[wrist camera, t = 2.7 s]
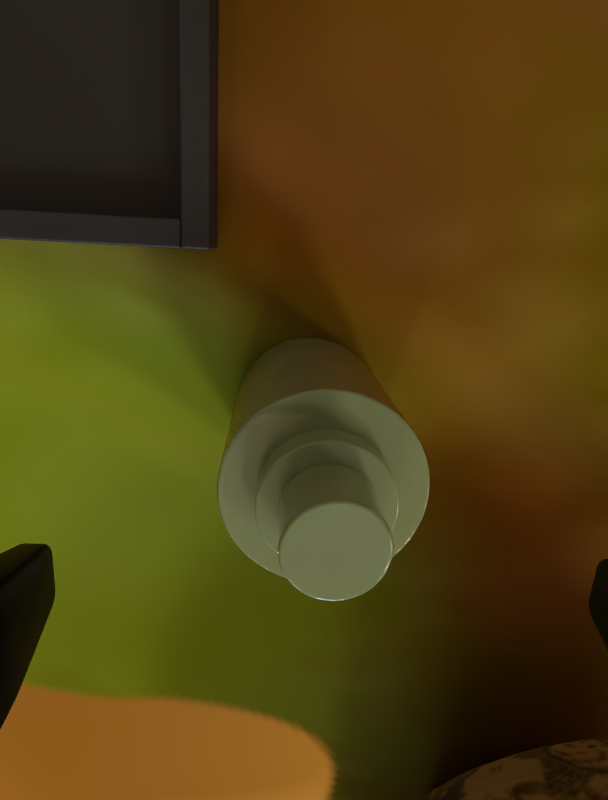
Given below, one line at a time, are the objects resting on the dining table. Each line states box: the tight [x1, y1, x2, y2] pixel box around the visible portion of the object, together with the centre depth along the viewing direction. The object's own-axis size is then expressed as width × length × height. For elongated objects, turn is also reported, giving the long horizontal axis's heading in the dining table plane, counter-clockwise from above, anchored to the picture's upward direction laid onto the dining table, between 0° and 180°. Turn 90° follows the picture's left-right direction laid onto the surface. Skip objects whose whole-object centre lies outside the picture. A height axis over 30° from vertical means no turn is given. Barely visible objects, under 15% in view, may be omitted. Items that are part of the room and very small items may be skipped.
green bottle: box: [217, 338, 430, 601], centre depth 14 cm, size 5×5×9 cm
